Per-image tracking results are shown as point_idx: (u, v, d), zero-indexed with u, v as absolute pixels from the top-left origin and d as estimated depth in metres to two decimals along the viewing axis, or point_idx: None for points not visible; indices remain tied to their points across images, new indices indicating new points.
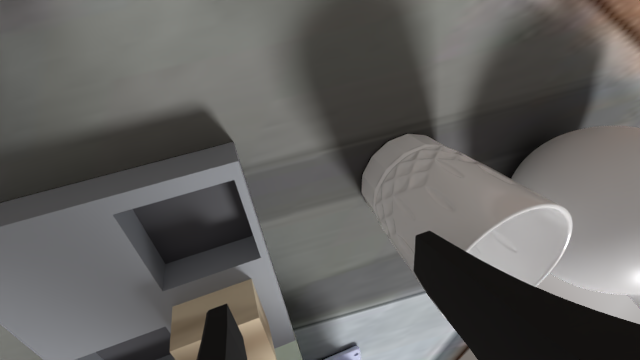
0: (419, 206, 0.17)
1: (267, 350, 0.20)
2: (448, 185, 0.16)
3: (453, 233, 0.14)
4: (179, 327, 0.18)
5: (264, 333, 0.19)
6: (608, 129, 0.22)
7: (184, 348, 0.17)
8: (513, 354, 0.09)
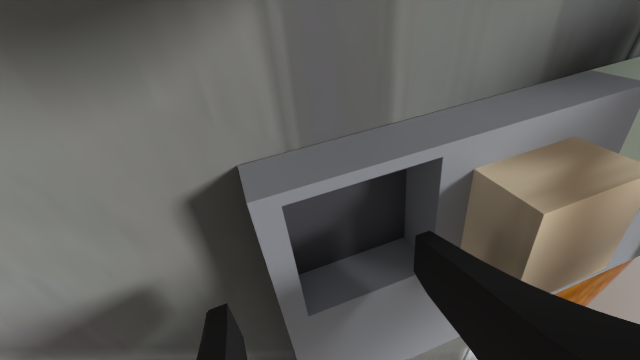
0: None
1: (622, 190, 0.11)
2: None
3: None
4: None
5: (583, 200, 0.10)
6: None
7: None
8: (513, 354, 0.09)
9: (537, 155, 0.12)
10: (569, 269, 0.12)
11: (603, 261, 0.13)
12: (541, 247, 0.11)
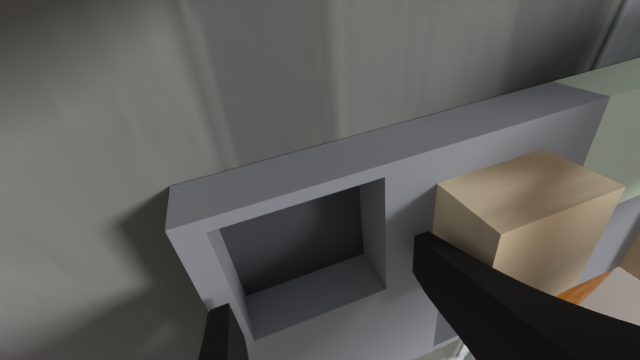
0: None
1: (586, 207, 0.10)
2: None
3: None
4: None
5: (544, 219, 0.10)
6: None
7: None
8: (511, 355, 0.09)
9: (503, 169, 0.12)
10: (536, 286, 0.12)
11: (574, 277, 0.13)
12: (503, 266, 0.10)
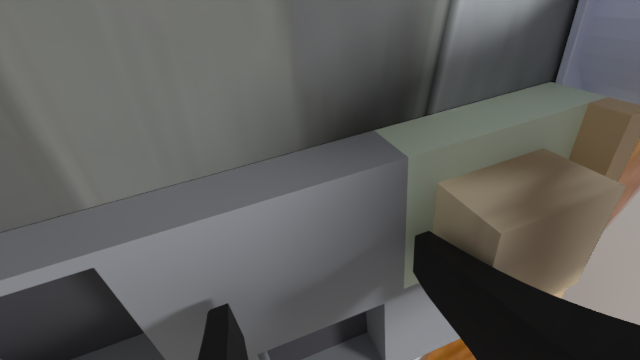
0: None
1: (586, 207, 0.10)
2: None
3: None
4: None
5: (544, 218, 0.10)
6: None
7: None
8: (512, 354, 0.09)
9: (503, 168, 0.12)
10: (536, 286, 0.12)
11: (574, 277, 0.13)
12: (503, 265, 0.10)
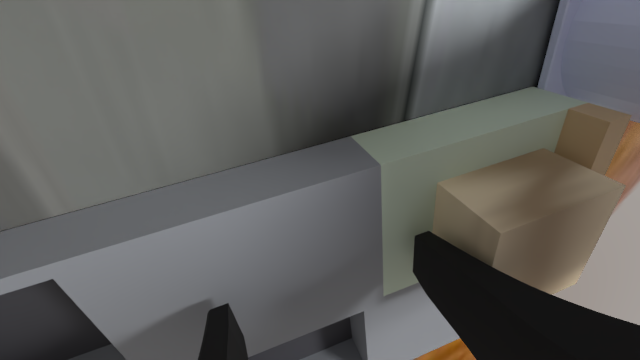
0: None
1: (585, 206, 0.10)
2: None
3: None
4: None
5: (543, 218, 0.10)
6: None
7: None
8: (512, 355, 0.09)
9: (503, 168, 0.12)
10: (536, 286, 0.12)
11: (573, 276, 0.13)
12: (502, 265, 0.10)
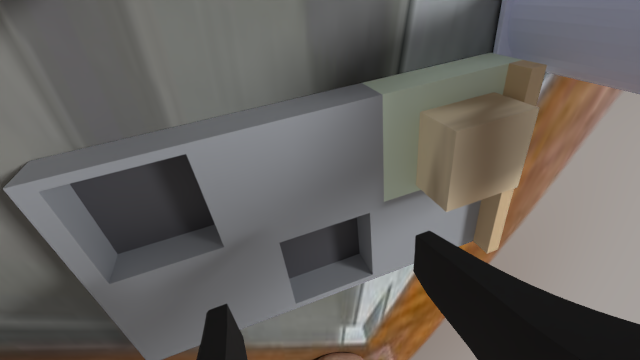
0: None
1: (513, 120, 0.16)
2: None
3: None
4: (432, 193, 0.19)
5: (484, 124, 0.15)
6: None
7: (450, 200, 0.17)
8: (513, 354, 0.09)
9: (464, 103, 0.18)
10: (487, 182, 0.18)
11: (514, 180, 0.18)
12: (460, 158, 0.16)
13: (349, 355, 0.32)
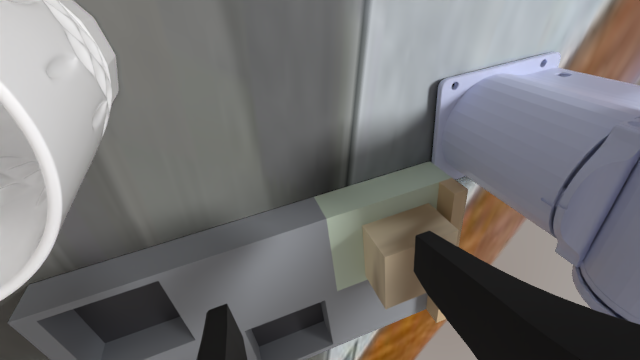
0: None
1: None
2: None
3: None
4: (376, 289, 0.22)
5: (409, 248, 0.18)
6: None
7: (388, 301, 0.20)
8: (513, 354, 0.09)
9: (400, 216, 0.21)
10: (420, 284, 0.21)
11: None
12: (391, 273, 0.19)
13: None
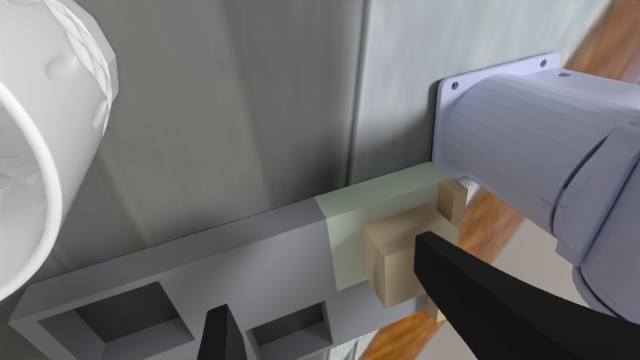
0: None
1: None
2: None
3: None
4: (376, 289, 0.22)
5: (409, 248, 0.18)
6: None
7: (388, 301, 0.20)
8: (513, 354, 0.09)
9: (400, 216, 0.21)
10: (420, 284, 0.21)
11: None
12: (391, 273, 0.19)
13: None
